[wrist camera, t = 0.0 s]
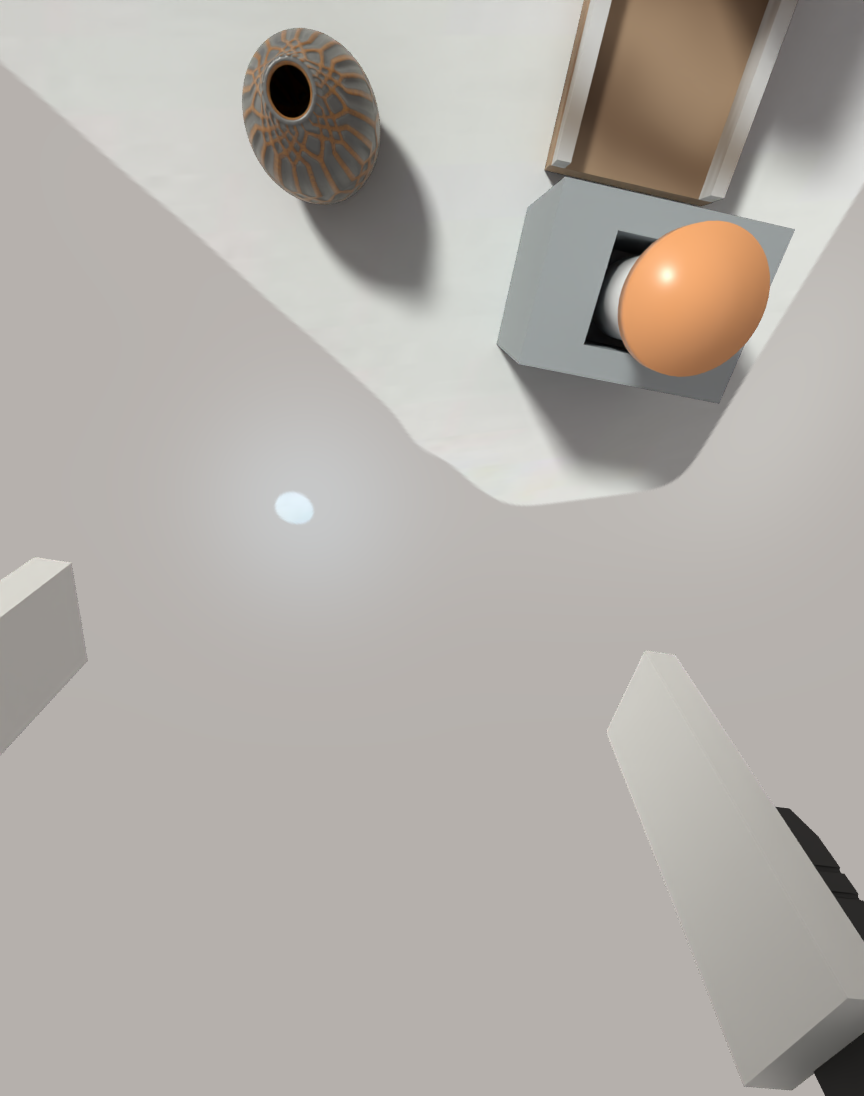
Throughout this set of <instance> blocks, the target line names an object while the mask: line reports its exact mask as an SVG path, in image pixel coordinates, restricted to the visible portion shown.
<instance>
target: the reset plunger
mask: <svg viewBox="0 0 864 1096" xmlns="http://www.w3.org/2000/svg"><path fill="white" fill-rule="evenodd" d="M769 290H770V272H769V265H768V261H767V258H766V255H765V253H764V250H763V248H762V247H761V245H760V244H759V242H758V241H757V240H756V239H755V237H754V236H753V235H752V234H751V233H749V232H748V231H747V230H745V229H744V228H742V227H740V226H738V225H736V224H733V223H730V222H725V221H704V222H699V223H694V224H690V225H686V226H683V227H680V228H677V229H675V230H673V231H670V232H668V233H667V234H665V235H663V236H662V237H660V238H659V239H657V240H656V241H655V242H654V243H652V244H651V245H650V246H649V247H648V248H647V249H646V250H645V251H644V252H643V253H642V254H641V255H638V256H632V257H626V258H623V259H620V260H618V261H616V262H615V263H613V264H612V265H610V266H609V267H608V268H607V269H606V272H605V275H604V279H603V282H602V285H601V289H600V292H599V295H598V299H597V302H596V305H595V309H594V312H593V315H592V317H593V320H594V322H595V324H596V326H597V327H598V328H599V329H600V330H601V331H602V332H603V333H604V334H606V335H607V336H610V337H612V338H616V339H619V340H622V341H623V343H624V345H625V347H626V349H627V350H628V352H629V353H630V354H631V356H632V357H633V358H634V359H635V360H636V361H638V362H639V363H640V364H642V365H643V366H645V367H647V368H649V369H651V370H654V371H656V372H659V373H662V374H665V375H669V376H676V377H687V376H693V375H698V374H701V373H705V372H707V371H710V370H712V369H714V368H716V367H718V366H720V365H721V364H723V363H724V362H726V361H727V360H729V359H730V358H731V357H732V356H734V355H735V354H736V353H737V352H738V351H739V350H740V349H741V348H742V347H743V346H744V345H745V344H746V342H747V341H748V340H749V339H750V337H751V336H752V334H753V333H754V331H755V330H756V328H757V326H758V324H759V322H760V320H761V318H762V316H763V313H764V311H765V308H766V305H767V301H768V297H769Z"/></svg>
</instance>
